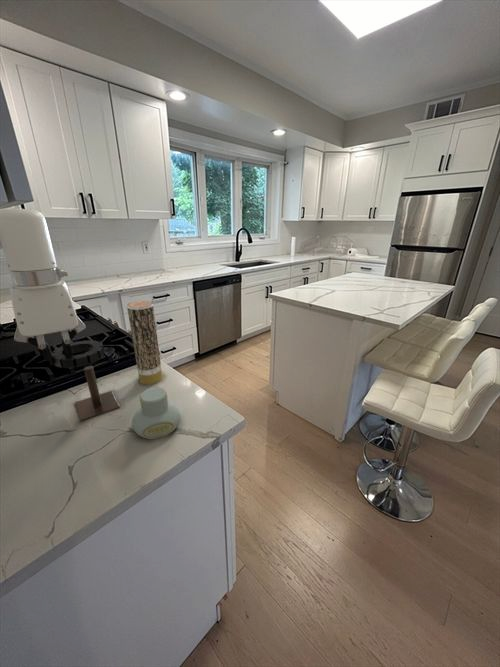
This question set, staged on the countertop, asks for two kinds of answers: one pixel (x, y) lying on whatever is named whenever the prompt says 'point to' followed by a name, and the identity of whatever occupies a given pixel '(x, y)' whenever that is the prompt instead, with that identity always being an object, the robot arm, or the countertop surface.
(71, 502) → the countertop surface
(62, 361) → the ring
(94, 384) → the holder
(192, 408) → the countertop surface
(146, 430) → the air freshener
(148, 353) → the patterned tall cylinder
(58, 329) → the robot arm
